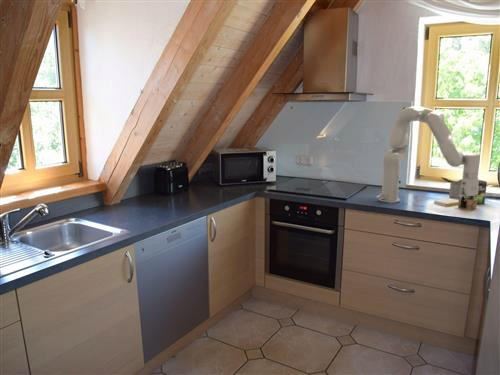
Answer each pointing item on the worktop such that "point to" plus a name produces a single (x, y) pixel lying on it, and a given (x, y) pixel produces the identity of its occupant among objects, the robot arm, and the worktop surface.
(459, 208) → the pallet
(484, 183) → the coffee can
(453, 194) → the cup
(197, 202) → the worktop surface
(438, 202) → the block
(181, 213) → the worktop surface
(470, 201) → the crate
